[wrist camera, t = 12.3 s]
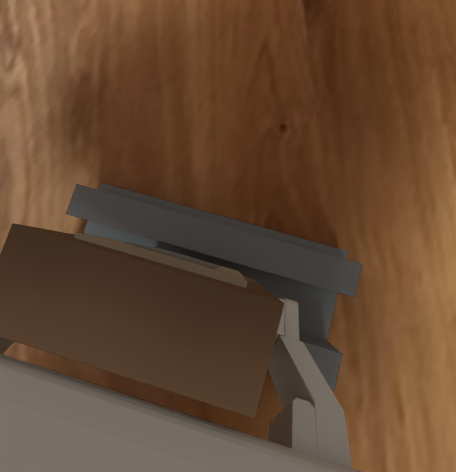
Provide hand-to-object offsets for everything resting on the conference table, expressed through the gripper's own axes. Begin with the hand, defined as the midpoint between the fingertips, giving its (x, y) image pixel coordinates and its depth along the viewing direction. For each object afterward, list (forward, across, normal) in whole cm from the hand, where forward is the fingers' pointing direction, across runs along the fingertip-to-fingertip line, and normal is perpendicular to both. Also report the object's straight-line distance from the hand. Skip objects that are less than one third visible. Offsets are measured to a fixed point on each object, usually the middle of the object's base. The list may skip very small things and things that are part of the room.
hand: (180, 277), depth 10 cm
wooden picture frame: (+4, 0, +5) cm, 6 cm away
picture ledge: (+7, 0, +7) cm, 10 cm away
